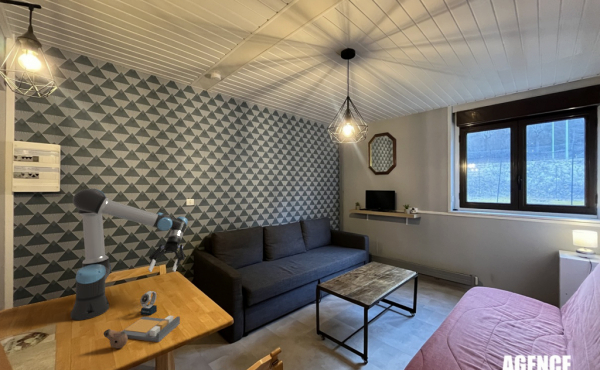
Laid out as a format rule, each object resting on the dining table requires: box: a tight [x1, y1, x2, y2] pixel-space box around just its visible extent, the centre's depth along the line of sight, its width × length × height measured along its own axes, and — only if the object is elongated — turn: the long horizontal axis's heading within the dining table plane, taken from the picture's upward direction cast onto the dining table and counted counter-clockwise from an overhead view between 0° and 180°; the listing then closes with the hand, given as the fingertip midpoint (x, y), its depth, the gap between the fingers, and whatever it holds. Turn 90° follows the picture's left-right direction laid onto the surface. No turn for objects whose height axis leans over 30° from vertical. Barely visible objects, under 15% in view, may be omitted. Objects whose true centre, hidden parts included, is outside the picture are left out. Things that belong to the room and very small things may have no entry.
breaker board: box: [122, 315, 181, 343], centre depth 112 cm, size 20×14×4 cm
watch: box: [139, 290, 158, 317], centre depth 127 cm, size 6×8×11 cm
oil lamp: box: [103, 328, 129, 349], centre depth 100 cm, size 9×4×8 cm, turn 100°
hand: (161, 270), depth 138 cm, fingers open, 13 cm apart
